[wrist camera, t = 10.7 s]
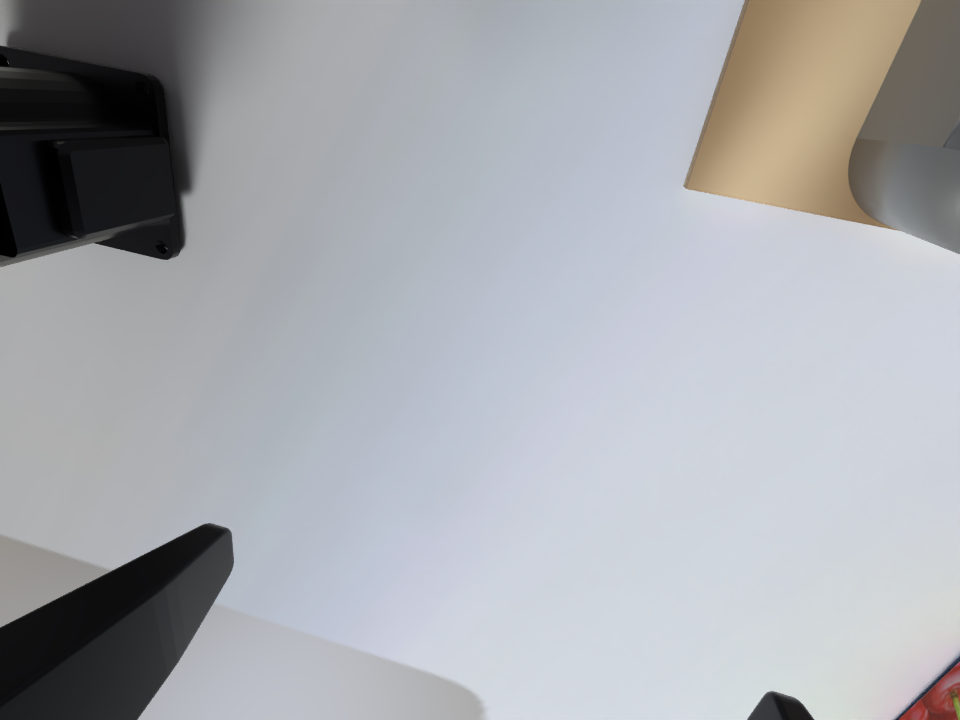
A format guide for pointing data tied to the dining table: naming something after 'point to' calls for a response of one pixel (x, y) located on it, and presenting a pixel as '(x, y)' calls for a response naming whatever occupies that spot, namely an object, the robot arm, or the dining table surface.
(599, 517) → the dining table surface
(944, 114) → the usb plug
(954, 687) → the snack box
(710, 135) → the cork pad
